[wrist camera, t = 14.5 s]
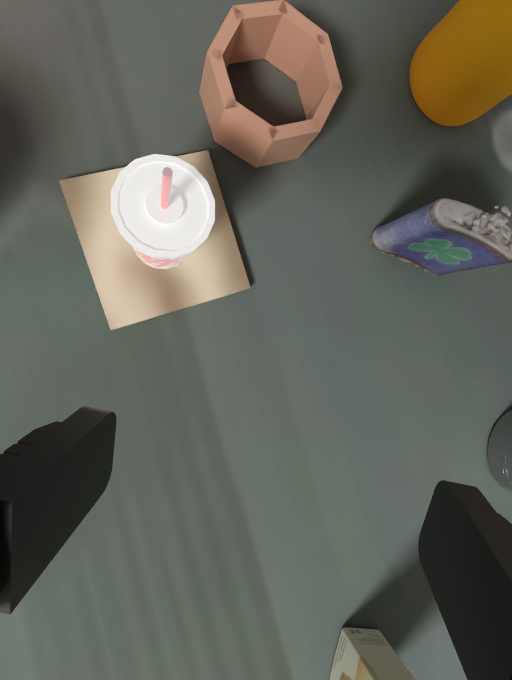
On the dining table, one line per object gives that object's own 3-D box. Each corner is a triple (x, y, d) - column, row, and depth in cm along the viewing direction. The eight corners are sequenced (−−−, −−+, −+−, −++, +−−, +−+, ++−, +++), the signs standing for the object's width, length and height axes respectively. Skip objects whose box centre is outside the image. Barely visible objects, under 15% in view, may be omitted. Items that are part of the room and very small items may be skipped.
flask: (366, 246, 37) (448, 213, 27) (375, 218, 38) (459, 174, 27) (442, 281, 40) (545, 262, 29) (450, 254, 40) (555, 225, 30)
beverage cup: (151, 187, 31) (149, 77, 18) (213, 234, 33) (255, 164, 19) (106, 247, 31) (68, 180, 17) (171, 293, 32) (185, 264, 18)
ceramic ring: (295, 42, 35) (317, -5, 30) (326, 152, 36) (352, 124, 31) (188, 57, 33) (194, 9, 28) (224, 175, 34) (236, 148, 29)
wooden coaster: (206, 154, 33) (207, 150, 33) (248, 289, 34) (250, 288, 34) (61, 184, 31) (58, 180, 30) (111, 330, 32) (110, 330, 31)
